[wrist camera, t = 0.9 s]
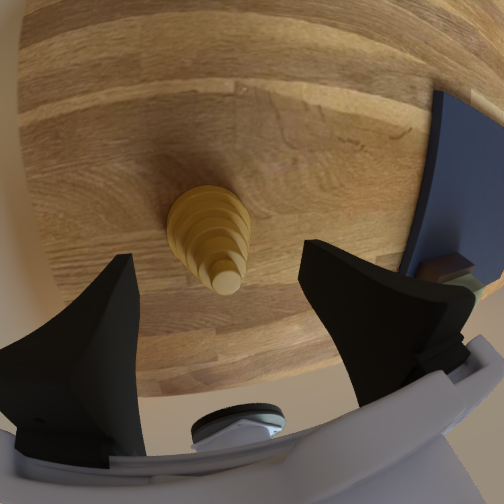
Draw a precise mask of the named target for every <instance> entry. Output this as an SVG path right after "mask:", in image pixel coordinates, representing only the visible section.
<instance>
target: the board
mask: <svg viewBox="0 0 504 504" xmlns="http://www.w3.org/2000/svg"><path fill="white" fill-rule="evenodd" d="M455 253H460V254H461V255H463V256H464V257H465V258H467V259H468V260H469V261H471V262H472V263H473V264H475V268H474V270H473V272H472V275H473V276H474V277H475V278H477V279H478V280H479V281H480V282H481V283H483V284H484V285H485V286H486V285H488V284H490V283H492V282H494V281H496V280H497V279H499V278H500V277H501V275H502V272H503V270H504V128H503V127H502V126H500V125H499V124H498V123H496V122H495V121H493V120H492V119H490V118H489V117H487V116H486V115H484V114H482V113H481V112H479V111H478V110H476V109H474V108H473V107H471V106H469V105H468V104H466V103H464V102H462V101H461V100H459V99H457V98H455V97H453V96H452V95H450V94H448V93H446V92H444V91H438V90H434V100H433V113H432V123H431V132H430V140H429V147H428V154H427V160H426V166H425V172H424V177H423V182H422V187H421V192H420V197H419V201H418V205H417V210H416V214H415V218H414V222H413V225H412V229H411V233H410V236H409V240H408V243H407V247H406V250H405V253H404V257H403V260H402V263H401V266H400V269H399V272H398V273H399V274H402V275H405V276H409V277H413V278H414V277H415V275H416V272H417V269H418V266H419V264H420V261H425V260H429V259H433V258H438V257H442V256H446V255H451V254H455Z"/></svg>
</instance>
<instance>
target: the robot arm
mask: <svg viewBox="0 0 504 504" xmlns="http://www.w3.org/2000/svg"><path fill="white" fill-rule="evenodd" d="M298 281H299V283H300V286H301V288H302V290H303V292H304V294H305V297H306V298H307V300H308V301H309V303H310V305H311V306H312V308H313V309H314V311H315V312H316V314H317V315H318V317H319V319H320V320H321V322H322V323H323V325H324V326H325V328H326V329H327V331H328V332H329V334H330V336H331V337H332V339H333V341H334V343H335V345H336V347H337V349H338V351H339V354H340V356H341V358H342V360H343V363H344V365H345V367H346V370H347V372H348V374H349V377H350V380H351V383H352V385H353V388H354V391H355V394H356V397H357V401H358V404H359V407H360V408H358V409H356V410H354V411H351V412H349V413H346V414H344V415H342V416H340V417H338V418H336V419H334V420H331V421H329V422H327V423H324V424H321V425H318V426H315V427H312V428H309V429H306V430H302V431H299V432H296V433H292V434H289V435H285V436H282V437H278V438H274V439H272V438H271V435H273V434H275V433H276V432H278V431H280V430H281V429H282V427H281V426H277V425H272V424H267V423H262V422H257V421H252V420H248V419H240V420H238V421H236V422H235V423H233V424H231V425H229V426H227V427H226V428H224V429H222V430H220V431H218V432H216V433H214V434H213V435H211V436H209V437H207V438H205V439H203V440H201V441H199V442H197V443H195V444H193V445H191V449H195V450H196V451H197V453H191V454H179V455H165V456H147V455H146V451H145V445H144V441H143V435H142V429H141V424H140V416H139V408H138V399H137V387H136V351H137V340H138V329H139V320H140V294H139V290H138V285H137V279H136V274H135V269H134V263H133V257H132V253H129V254H117V255H116V256H115V257H114V258H113V260H112V261H111V262H110V263H109V264H108V265H107V266H106V268H105V269H104V270H103V271H102V272H101V273H100V274H99V275H98V277H97V278H96V279H95V280H94V281H93V282H92V283H91V284H90V285H89V286H88V287H87V288H86V289H85V290H84V291H83V292H82V293H81V294H80V295H79V296H78V297H77V298H76V299H75V300H74V301H73V302H72V303H71V304H70V305H68V306H67V307H66V308H65V309H64V310H63V311H61V312H60V313H59V314H58V315H56V316H55V317H54V318H52V319H51V320H50V321H48V322H47V323H45V324H44V325H43V326H41V327H40V328H38V329H37V330H35V331H34V332H32V333H30V334H29V335H27V336H25V337H24V338H22V339H20V340H18V341H16V342H14V343H12V344H10V345H8V346H6V347H4V348H2V349H0V411H1V413H3V414H4V416H6V417H7V418H8V419H9V420H10V421H11V422H12V423H13V424H14V425H15V426H16V427H17V431H16V436H15V435H14V434H12V433H10V432H8V431H4V430H1V429H0V502H1V503H3V504H486V502H485V500H484V499H483V497H482V495H481V494H480V492H479V490H478V489H477V487H476V485H475V484H474V482H473V480H472V479H471V477H470V476H469V474H468V472H467V471H466V470H465V468H464V466H463V464H462V463H461V461H460V460H459V458H458V457H457V455H456V454H455V452H454V451H453V449H452V448H451V446H450V445H449V443H448V442H447V440H446V439H445V437H444V435H445V434H446V433H448V432H449V431H450V430H451V429H452V428H454V427H455V426H456V425H457V424H458V423H459V422H461V421H462V420H463V419H464V418H465V417H466V416H467V415H468V414H469V413H471V412H472V411H473V410H474V409H475V408H476V407H477V406H478V405H479V404H480V403H481V402H482V401H483V400H484V399H485V398H486V397H487V396H488V394H490V392H491V391H492V390H493V389H494V388H495V387H496V386H497V385H498V384H499V382H500V381H501V380H502V379H503V378H504V359H503V357H502V356H501V355H500V354H499V353H498V352H497V351H496V350H495V349H494V347H493V346H492V345H491V344H490V343H489V342H488V341H487V340H486V339H485V338H484V337H483V336H482V335H481V334H480V335H478V336H477V337H475V338H474V339H472V340H471V341H470V342H469V343H468V344H467V345H466V346H465V345H463V343H462V341H463V339H464V336H463V335H462V334H461V333H460V332H461V330H462V328H463V327H464V325H465V323H466V322H467V320H468V318H469V316H470V314H471V313H472V311H473V308H474V306H475V301H476V297H475V294H474V293H473V292H472V291H471V290H469V289H468V288H467V287H464V286H459V285H449V284H441V283H435V282H429V281H425V280H420V279H416V278H413V277H409V276H405V275H402V274H399V273H396V272H393V271H390V270H387V269H384V268H382V267H379V266H377V265H375V264H372V263H370V262H368V261H365V260H363V259H361V258H359V257H357V256H354V255H352V254H350V253H348V252H346V251H344V250H342V249H340V248H338V247H335V246H333V245H331V244H329V243H326V242H324V241H321V240H318V239H313V240H305V241H304V247H303V253H302V258H301V264H300V270H299V275H298Z"/></svg>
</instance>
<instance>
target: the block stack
mask: <svg viewBox="0 0 504 504" xmlns="http://www.w3.org/2000/svg"><path fill="white" fill-rule="evenodd" d="M474 268H475V264H473V263H472V262H471V261H469V260H468V259H467V258H465V257H464V256H463V255H461V254H460V253H455V254H451V255H446V256H442V257H438V258H433V259H429V260H425V261H420V264H419V266H418V269H417V272H416V275H415V277H414V278H416V279H420V280H425V281H429V282H435V283H441V284H449V285H459V286H464V287H467V288H468V289H469V290H471V291H472V292H473V293H474V294H475V297H476V301H475V306H474V308H473V311H474V309H475V307H476V305H477V303H478V301H479V299H480V297H481V295H482V293H483V291H484V289H485V287H486V286H485V285H484V284H483V283H481V282H480V281H479V280H478V279H477V278H475V277H474V276H473V275H472V272H473V270H474ZM473 311H472V313H473ZM472 313H471V314H472ZM471 314H470V316H471ZM470 316H469V318H470ZM469 318H468V320H469ZM468 320H467V322H468ZM467 322H466V323H467ZM466 323H465V325H466ZM465 325H464V326H465ZM463 328H464V327H463ZM463 328H462V329H463Z"/></svg>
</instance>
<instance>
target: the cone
mask: <svg viewBox="0 0 504 504" xmlns="http://www.w3.org/2000/svg"><path fill="white" fill-rule="evenodd" d="M250 236H251V219H250V216H249V213H248V211H247V210H246V208H245V206H244V205H243V204H242V202H241V201H240V200H239V198H238V197H237V196H236V195H235V194H233V193H232V192H231V191H229V190H227V189H225V188H223V187H219V186H214V185H204V186H198V187H195V188H192V189H190V190H188V191H186V192H185V193H183V194H182V195H181V196H180V197H179V198H178V199H177V200H176V201H175V202H174V204H173V205H172V207H171V209H170V211H169V214H168V218H167V240H168V243H169V246H170V248H171V250H172V252H173V253H174V255H175V256H176V257H177V258H178V259H179V260H180V261H181V262H182V263H183V264H184V266H186V267H187V268H188V269H189V270H190V271H191V272H192V274H194V275H195V276H196V277H197V278H199V280H200V282H201V283H202V284H203V285H204V286H205V287H206V288H208V289H210V290H213V291H215V292H216V293H218V294H220V295H230V294H232V293H234V292H236V291H237V290H238V289H239V288H240V286H241V284H242V280H243V279H244V277H245V275H246V272H247V263H246V262H247V258H248V249H249V245H250Z"/></svg>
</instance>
